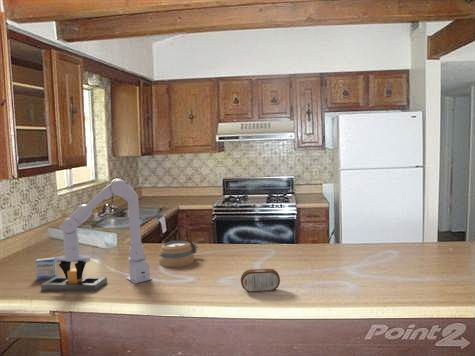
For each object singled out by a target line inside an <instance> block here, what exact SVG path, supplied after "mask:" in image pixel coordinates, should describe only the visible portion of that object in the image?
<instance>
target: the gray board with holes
mask: <svg viewBox="0 0 475 356" xmlns="http://www.w3.org/2000/svg"><path fill="white" fill-rule="evenodd" d="M106 284H108V277H107V276H82V280H81V281H79V282H78V283H68V279H66V277H65V276H56V277H53V278H49V279H47V280H46V281H45V282H43V283H41V284H40V288H41V289H40V290H41V291H52V292H53V291H55V292H56V291H57V292H60V291H61V292H65V291H66V292H97V291H98V290H99V289H101V288H102V287H104V286H105V285H106Z"/></svg>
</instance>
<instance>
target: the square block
mask: <svg viewBox="0 0 475 356" xmlns="http://www.w3.org/2000/svg"><path fill="white" fill-rule="evenodd" d="M67 275H68V283H78V282H79V281H81V280H82V278H81V279H78V278H77V270H76V267H74V268H70V270H69V271H67Z"/></svg>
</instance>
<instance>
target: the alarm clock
mask: <svg viewBox="0 0 475 356" xmlns="http://www.w3.org/2000/svg"><path fill="white" fill-rule="evenodd" d="M160 248H161V249H160V255H158V263H159V265H160V266H162V267H164V266H165V268H179V267H185V266H189V265H191V264H193V263H194V262H195V254H196V253H197V251H198V248H199V247H198V246H197V244H196V243H195V242H194V241H191V242H189V241H186V240H172V241H168V242H165V243H164V244H162V245H161V247H160Z"/></svg>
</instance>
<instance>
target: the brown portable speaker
mask: <svg viewBox="0 0 475 356" xmlns="http://www.w3.org/2000/svg"><path fill="white" fill-rule="evenodd" d="M280 277H281V276H280V275H279V273H278V271H276V270H275V269H273V268H258V269H256V268H255V269H247V270H245V271H244V272H242V275H241V276H240V283H241V287H242V289H243V290H245V291H246V292H247V293H259V292H262V293H264V292H265V293H267V292H273V291H275V290H276V289H278V287H279V286H280V283H281V278H280Z"/></svg>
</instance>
